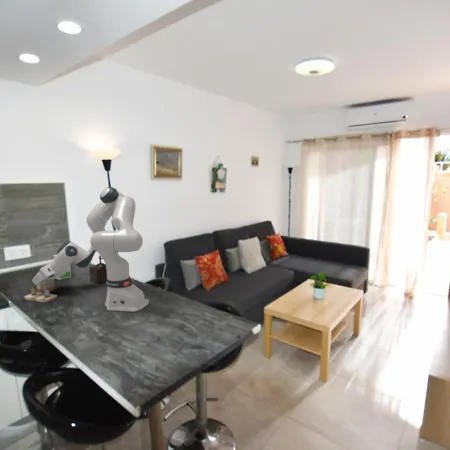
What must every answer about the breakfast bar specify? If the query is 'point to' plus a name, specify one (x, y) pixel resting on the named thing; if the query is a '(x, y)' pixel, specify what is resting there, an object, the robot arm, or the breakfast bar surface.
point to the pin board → (40, 296)
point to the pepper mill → (98, 272)
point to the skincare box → (67, 274)
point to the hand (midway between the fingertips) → (44, 282)
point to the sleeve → (46, 286)
